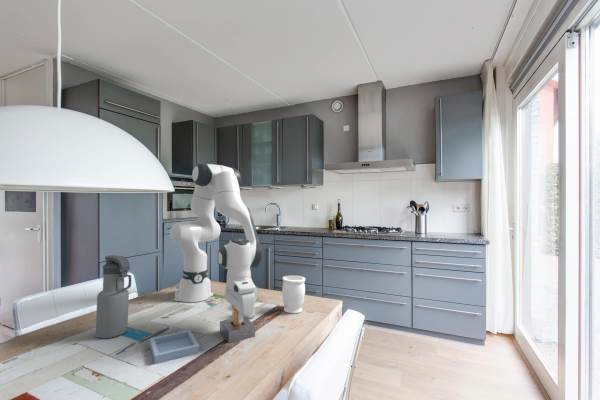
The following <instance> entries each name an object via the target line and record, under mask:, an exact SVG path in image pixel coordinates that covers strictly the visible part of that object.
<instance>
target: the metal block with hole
mask: <svg viewBox="0 0 600 400" xmlns="http://www.w3.org/2000/svg"><path fill="white" fill-rule="evenodd" d="M219 333H220V334H221V335H222V336H223V338H224V339H225V341H227V343H228V344H229V343H230V342H231V343H235V342H239V341H242V340H246V339H249V338H254V337H256V325H255V324H254V323H253V322H252V321H251V320H250V319H247V318H246V317H245V316H244V317H243V322H241V325H240V326H236V327H234V326H233V318H229V319H225V320H220V321H219ZM234 341H235V342H234Z"/></svg>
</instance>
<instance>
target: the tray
mask: <svg viewBox="0 0 600 400" xmlns="http://www.w3.org/2000/svg"><path fill="white" fill-rule="evenodd" d="M149 347H150V351H151V355H152V358H153V359H152V360H153V363H154V364H155V365H156V364H160V363H161V364H162V363H164V362H168V361H173V360H176V359H180V357H181V358H184V356H185V357H187V356H188V355H189V356H193V355H195V354H199V353H200V344H199V343H198V341H197V339H196V337H195V336H194V334H193V333H192V331H191V330H190V329H188V330H183V331H178V332H175V333H169V334H164V335H159V336H154V337H150V338H149ZM189 356H188V357H189Z"/></svg>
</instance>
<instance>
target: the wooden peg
mask: <svg viewBox="0 0 600 400" xmlns="http://www.w3.org/2000/svg"><path fill="white" fill-rule="evenodd" d="M232 308H233V309H234V317H233V316H232V317H233V318H232V319H233V326H234V327H236V326H240V325H241V322H238V321H237V316H238V315H239V313H238V310H237V309H235V307H234V306H233V305H232ZM232 308H231V309H232Z"/></svg>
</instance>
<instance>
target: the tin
mask: <svg viewBox="0 0 600 400" xmlns="http://www.w3.org/2000/svg"><path fill="white" fill-rule="evenodd" d="M255 286H256V291H255V292H254V304H256V302H257V300H258V297H259V286H258V285H255Z"/></svg>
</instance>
